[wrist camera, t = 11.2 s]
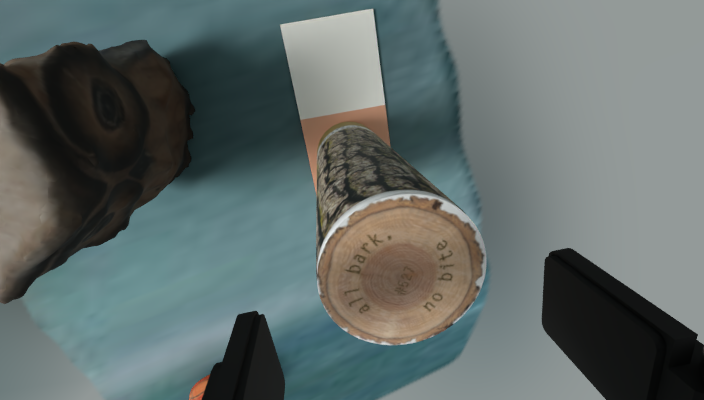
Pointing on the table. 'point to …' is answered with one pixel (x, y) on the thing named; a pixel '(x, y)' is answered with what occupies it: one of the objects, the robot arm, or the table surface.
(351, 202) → the birch log
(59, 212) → the brown owl figurine
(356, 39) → the board
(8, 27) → the table surface
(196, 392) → the pot
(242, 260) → the table surface
